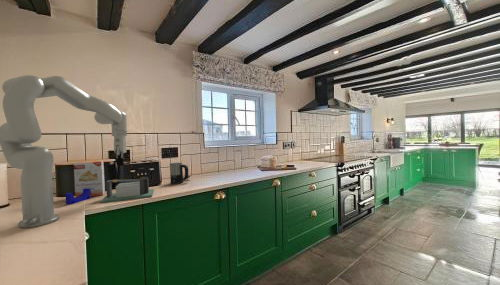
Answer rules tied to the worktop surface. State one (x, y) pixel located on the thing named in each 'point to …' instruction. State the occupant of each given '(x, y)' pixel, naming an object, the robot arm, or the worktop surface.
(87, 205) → the worktop surface
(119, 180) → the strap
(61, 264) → the worktop surface
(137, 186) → the heatsink board
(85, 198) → the cable clip
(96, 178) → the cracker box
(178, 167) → the milk frother
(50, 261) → the worktop surface
